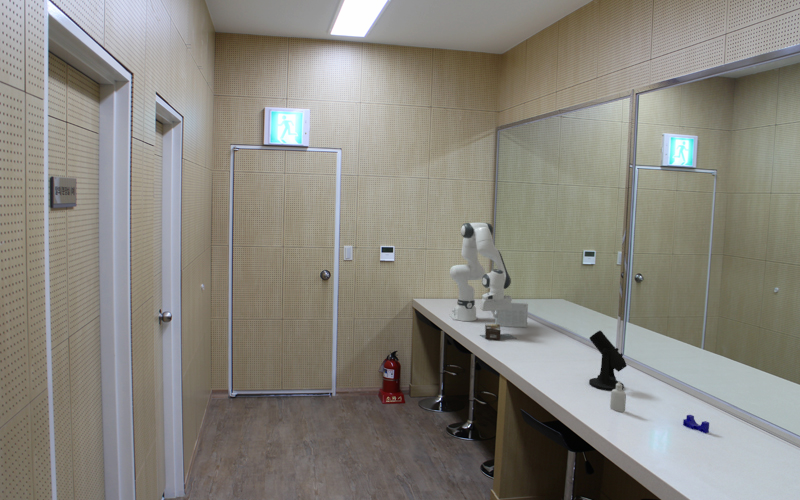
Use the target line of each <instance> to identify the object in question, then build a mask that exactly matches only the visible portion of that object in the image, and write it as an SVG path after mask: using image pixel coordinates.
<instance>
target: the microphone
mask: <svg viewBox="0 0 800 500" xmlns="http://www.w3.org/2000/svg"><path fill="white" fill-rule="evenodd" d="M589 340H590V342H591V343H592V345H594V346H595V348H596V349H597V350H598V352H599V353H600V354H601V364H600V372H599V374H597V377H593V378H589V381H588V383H589V385H590V387H592V388H594V389H597V390H601V391H607V392H611V391H612V390H613V389H616V384H617V383H618V381H619V380H617V377H616V375H615V370H616V371H617V372H620V371H622V370H623V369H625V368H626V367H628V365H627V363H626V360H625V358H624V357H623V356H624V354H623V353H622V352H621V353H620V352H619V350H620V349H619V347H615V346H614V345H613V343H612V342H611V341H610V340H609V339H608V337H607V336H606V335H605V334H604V332H603V331H602V330H597V331H596V332H595V333H593V334H592V335H590V337H589ZM621 384H622V391H624V388H625V385H624V384H623V383H622V382H621Z"/></svg>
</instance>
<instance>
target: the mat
mask: <svg viewBox="0 0 800 500" xmlns="http://www.w3.org/2000/svg"><path fill="white" fill-rule="evenodd" d="M479 336H480V337H481V338H484V339H485V340H487V341H492V340H493V341H494V340H495V339H486V338H485V334H480V335H479ZM513 339H514V340H515V339H518V337H516V336H514V335H513V334H510V333H501V334H500V340H513Z"/></svg>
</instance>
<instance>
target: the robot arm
mask: <svg viewBox="0 0 800 500" xmlns="http://www.w3.org/2000/svg"><path fill="white" fill-rule="evenodd" d="M493 234H494V228H493V226H492V224H491V223H489V222H465V223H463V224H462V226H461V227H460V235H461V236H462V238H463V239H462V245H461V257H462V258H463V259H464V260H465V261H467V264H456V265H455V264H454V265H453V266H451V268H450V269H449V276H450V278H451V279H452V280H454V282H455V283H456V284H457V288H458V299H457V302H456V305H455V306H453V308H452V310H451V312H452V313H450V314H449V317H450V318H451V319H452V320H455V321H459V322H460V321H462V322H474V321H476V320H478V319H479V317H478V316H477V307H476V306H475V305H476V302H475V301H476V300H475V288H474V287H473V286H472V285H470V284H469V283H468V281H478V280H481V283H482V286H483V287H484V288H486V289H489V292H486V293H483V294H482V295H481V298H482V299H481V301H480V310H481V311H482V312H491V314H492V318H493V319H496V318H498V315H499V314H500V311H502V310H511V309H512V304H511V303H512V302H513V301H512V299H513V298H512V296H511V295H505V290H506V289H508V288H509V287H510V286H511V283H512V279H511V277H510V275H509V273H508V270H507V268H506V264H505V262H504V259H503V256H502V253H501V251H500V250H498V249H497V247H496V246H495V245H494V244H495V243H494V239H493ZM479 255H481V256H482V257H484V258H487V259H489V260H491V261H492V262H494V263H495V266H496V268H497V269H496V268H495V269H492V270H491V271H490V272H487V273H486V270H485V268H484V266H483V265H482V264H481V263H480V261H479V258H478V257H479ZM496 311H497V314H496Z"/></svg>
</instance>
